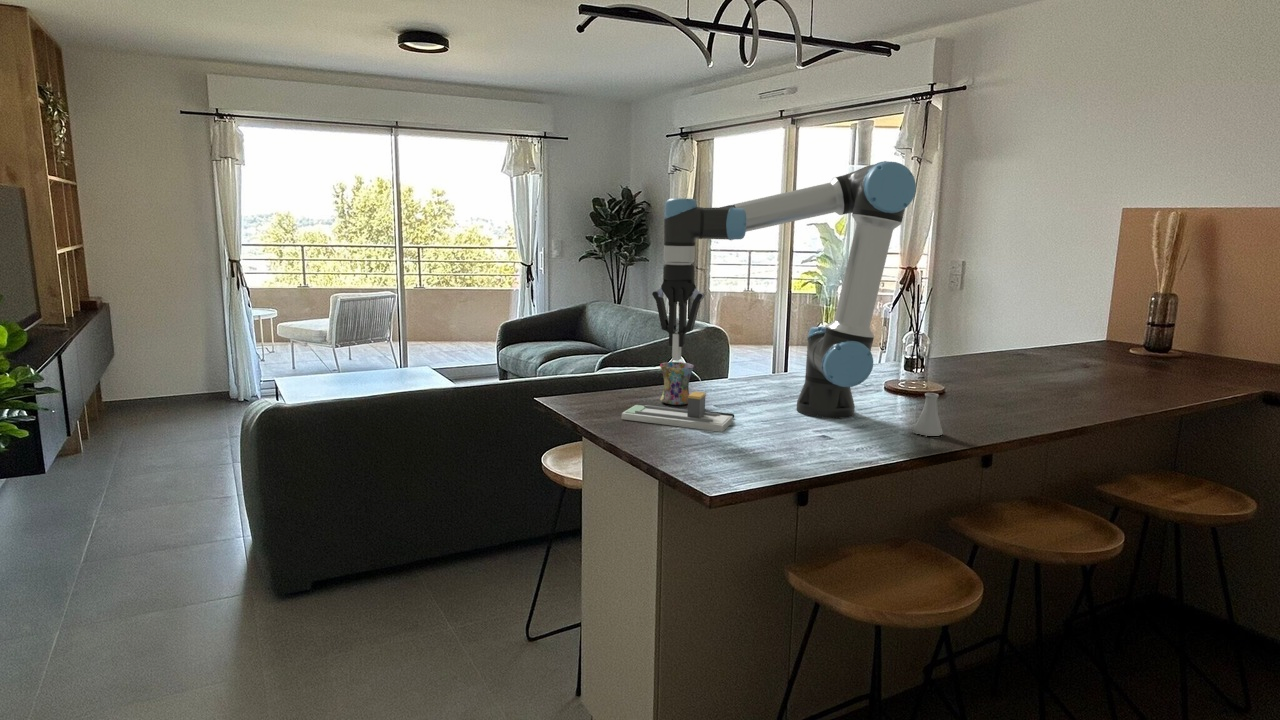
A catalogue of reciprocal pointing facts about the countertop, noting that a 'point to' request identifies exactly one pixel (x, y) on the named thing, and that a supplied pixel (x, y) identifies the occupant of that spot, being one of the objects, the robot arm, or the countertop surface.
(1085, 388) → the countertop surface
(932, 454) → the countertop surface
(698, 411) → the block
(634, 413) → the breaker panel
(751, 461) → the countertop surface
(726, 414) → the cable
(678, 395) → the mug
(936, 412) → the flask
